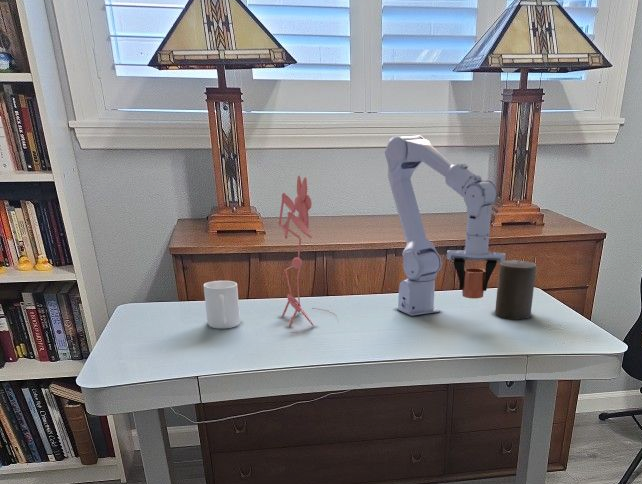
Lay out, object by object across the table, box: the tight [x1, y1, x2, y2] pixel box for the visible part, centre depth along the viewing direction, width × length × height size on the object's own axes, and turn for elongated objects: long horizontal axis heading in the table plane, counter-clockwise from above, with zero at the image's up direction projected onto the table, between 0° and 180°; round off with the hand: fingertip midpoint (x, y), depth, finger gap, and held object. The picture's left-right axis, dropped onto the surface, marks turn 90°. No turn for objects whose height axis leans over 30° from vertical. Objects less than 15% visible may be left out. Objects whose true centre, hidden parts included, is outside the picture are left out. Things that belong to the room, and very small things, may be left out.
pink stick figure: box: [278, 175, 339, 334], centre depth 176 cm, size 15×26×35 cm, turn 19°
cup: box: [203, 280, 241, 330], centre depth 176 cm, size 8×12×10 cm
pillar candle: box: [494, 258, 537, 320], centre depth 188 cm, size 10×10×15 cm
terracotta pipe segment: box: [461, 267, 486, 300], centre depth 179 cm, size 5×6×6 cm
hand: (473, 289), depth 180 cm, fingers closed on terracotta pipe segment, 5 cm apart
